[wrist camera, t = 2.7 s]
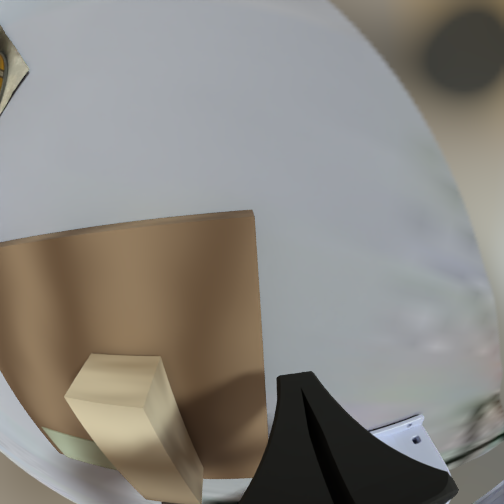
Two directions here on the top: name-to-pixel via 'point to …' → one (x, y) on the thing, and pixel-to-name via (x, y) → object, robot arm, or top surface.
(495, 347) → the top surface
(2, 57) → the condiment
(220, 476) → the stool seat
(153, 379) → the folding leg
